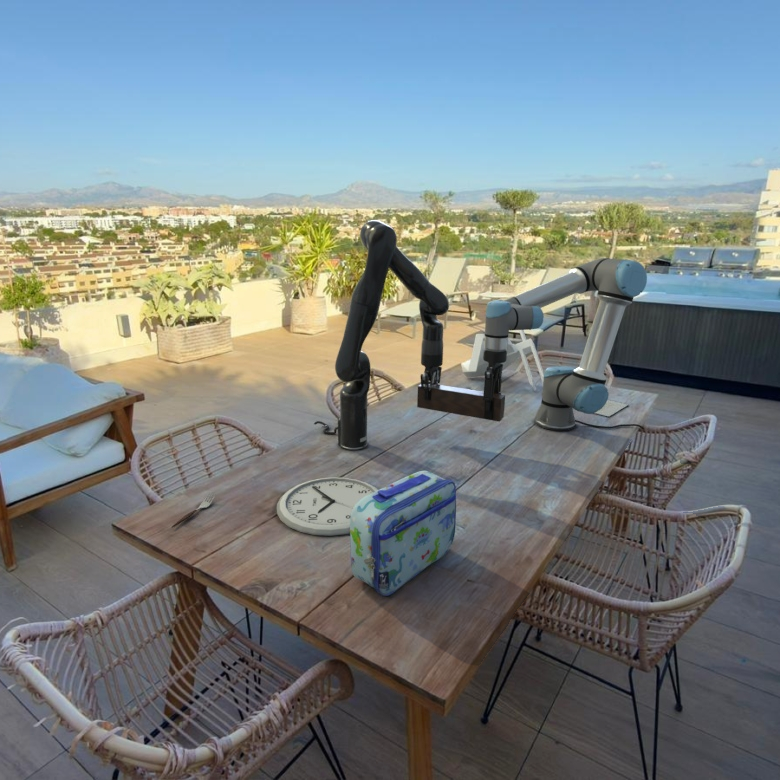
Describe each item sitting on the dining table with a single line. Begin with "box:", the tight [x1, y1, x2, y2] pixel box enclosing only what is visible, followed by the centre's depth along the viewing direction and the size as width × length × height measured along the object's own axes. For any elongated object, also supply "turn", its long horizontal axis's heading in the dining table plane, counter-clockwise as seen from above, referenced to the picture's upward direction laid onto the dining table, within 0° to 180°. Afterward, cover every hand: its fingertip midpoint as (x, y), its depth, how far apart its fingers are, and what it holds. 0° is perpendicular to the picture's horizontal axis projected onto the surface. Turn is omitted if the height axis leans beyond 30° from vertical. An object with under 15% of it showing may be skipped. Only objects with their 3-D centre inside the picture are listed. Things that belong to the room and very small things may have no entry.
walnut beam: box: [416, 383, 506, 423], centre depth 181 cm, size 30×5×8 cm, turn 63°
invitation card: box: [594, 399, 629, 418], centre depth 226 cm, size 21×1×15 cm
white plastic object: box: [460, 330, 545, 391], centre depth 258 cm, size 37×45×31 cm
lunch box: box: [349, 470, 457, 597], centre depth 114 cm, size 26×11×21 cm, turn 134°
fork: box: [171, 493, 217, 529], centre depth 137 cm, size 3×16×2 cm, turn 160°
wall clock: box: [276, 476, 380, 537], centre depth 142 cm, size 30×2×30 cm
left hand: (430, 398), depth 186 cm, fingers closed on walnut beam, 5 cm apart
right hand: (490, 416), depth 177 cm, fingers closed on walnut beam, 5 cm apart
